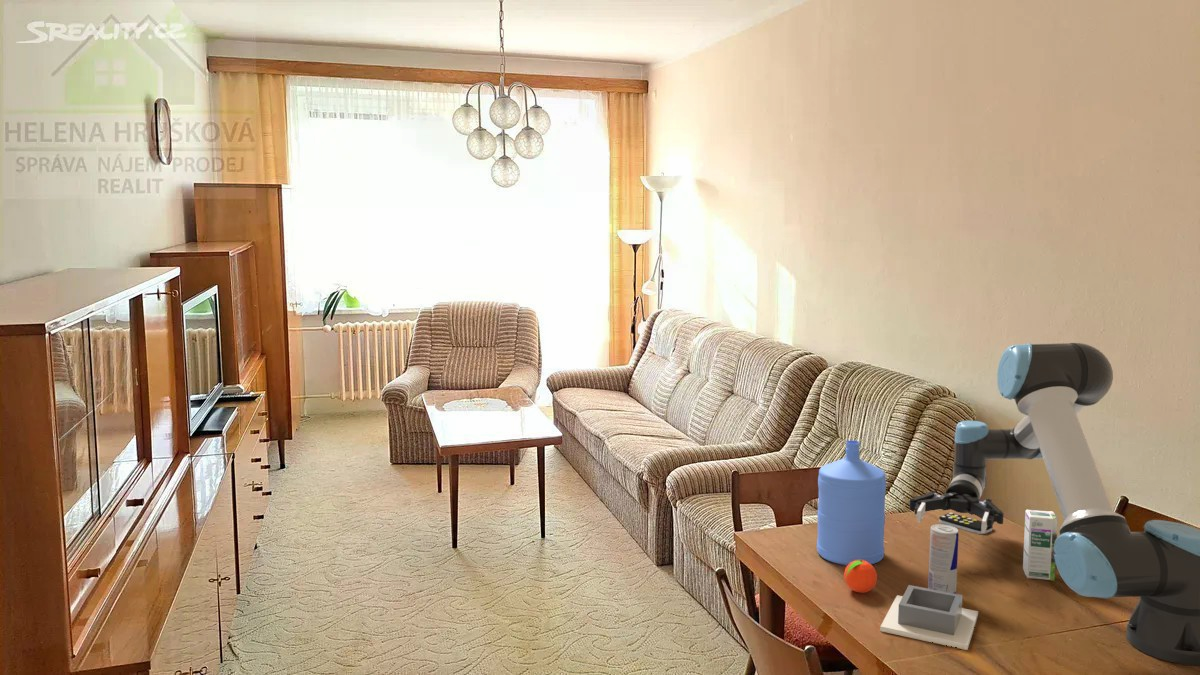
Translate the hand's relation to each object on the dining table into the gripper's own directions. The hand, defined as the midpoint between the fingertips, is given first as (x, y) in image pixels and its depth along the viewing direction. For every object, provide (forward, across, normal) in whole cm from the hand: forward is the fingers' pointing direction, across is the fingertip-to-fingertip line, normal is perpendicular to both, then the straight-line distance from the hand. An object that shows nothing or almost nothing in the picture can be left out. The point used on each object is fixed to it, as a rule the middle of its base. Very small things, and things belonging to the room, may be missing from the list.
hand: (950, 521), depth 193 cm
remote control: (-37, +1, -14) cm, 39 cm away
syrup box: (-11, -18, -13) cm, 25 cm away
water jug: (-3, +23, -14) cm, 26 cm away
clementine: (+17, +16, -13) cm, 27 cm away
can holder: (+25, 0, -13) cm, 28 cm away
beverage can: (+10, 0, -13) cm, 17 cm away
